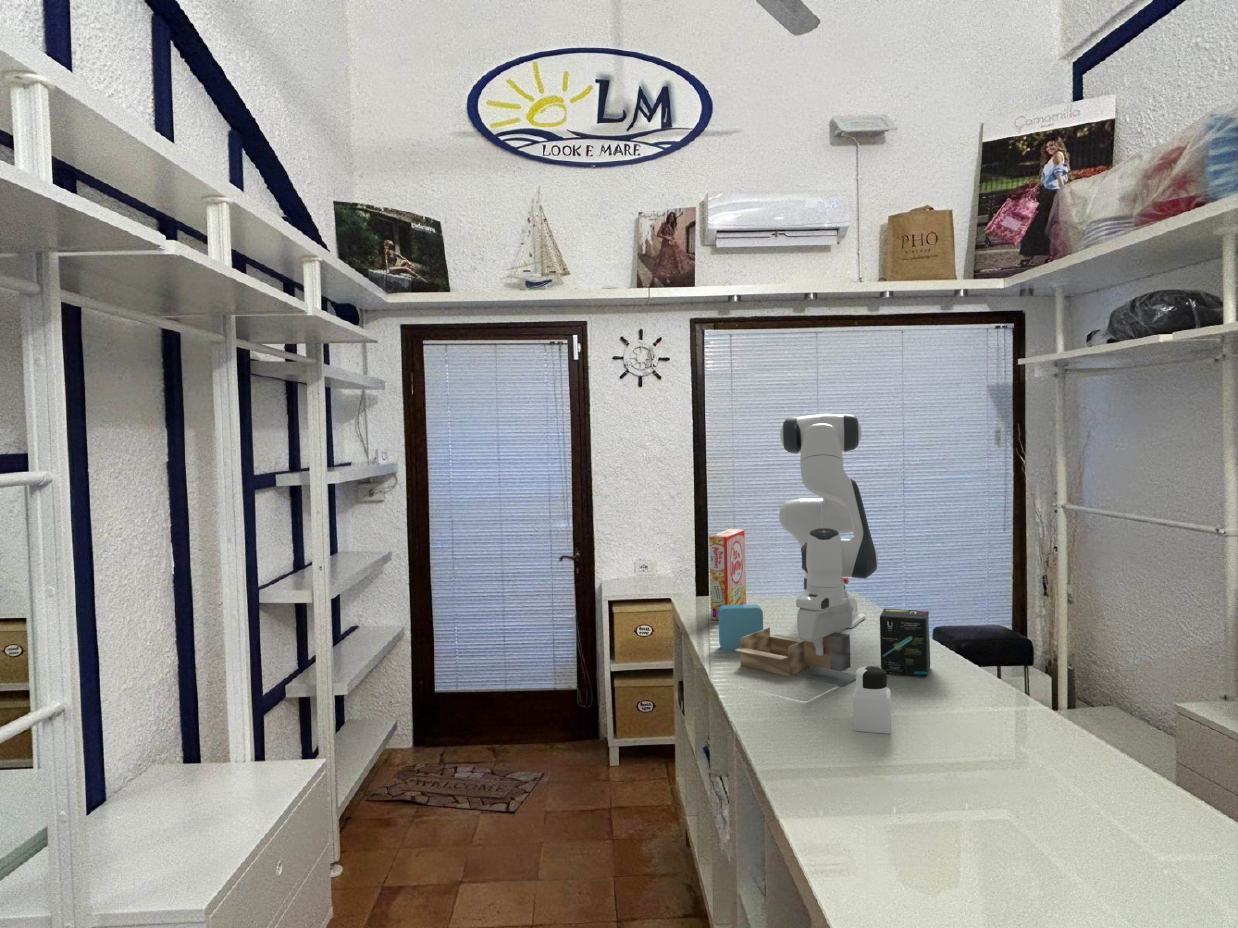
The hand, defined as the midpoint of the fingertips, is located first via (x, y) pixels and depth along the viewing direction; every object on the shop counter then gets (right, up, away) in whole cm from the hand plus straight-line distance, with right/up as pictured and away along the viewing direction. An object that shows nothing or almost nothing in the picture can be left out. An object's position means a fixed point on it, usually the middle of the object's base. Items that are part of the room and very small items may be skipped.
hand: (826, 651), depth 198 cm
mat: (0, -6, 0) cm, 6 cm away
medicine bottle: (+1, -8, -32) cm, 33 cm away
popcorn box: (-14, -4, +70) cm, 72 cm away
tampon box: (+20, -6, +3) cm, 21 cm away
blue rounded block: (-17, -6, +28) cm, 33 cm away
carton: (-9, -6, +11) cm, 16 cm away
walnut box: (0, -3, 0) cm, 3 cm away
